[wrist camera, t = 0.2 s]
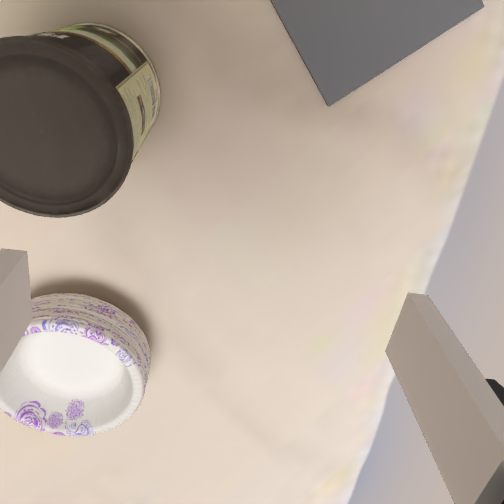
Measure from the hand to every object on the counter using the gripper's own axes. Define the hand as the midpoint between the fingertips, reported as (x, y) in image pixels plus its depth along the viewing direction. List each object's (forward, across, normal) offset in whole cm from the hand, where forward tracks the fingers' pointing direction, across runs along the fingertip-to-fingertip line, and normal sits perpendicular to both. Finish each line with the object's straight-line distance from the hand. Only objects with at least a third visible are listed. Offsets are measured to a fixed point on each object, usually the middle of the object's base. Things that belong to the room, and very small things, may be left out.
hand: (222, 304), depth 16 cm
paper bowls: (+28, -12, -25) cm, 39 cm away
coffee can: (+28, -11, +1) cm, 30 cm away
